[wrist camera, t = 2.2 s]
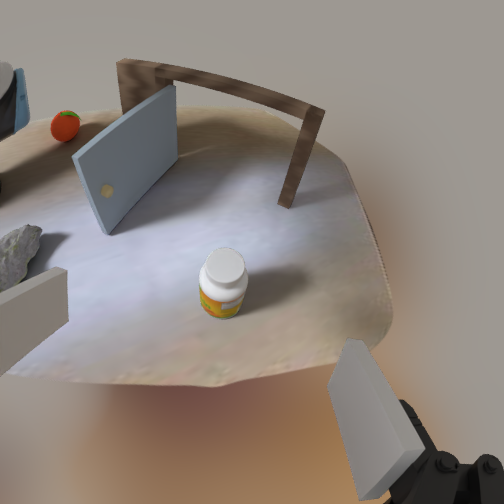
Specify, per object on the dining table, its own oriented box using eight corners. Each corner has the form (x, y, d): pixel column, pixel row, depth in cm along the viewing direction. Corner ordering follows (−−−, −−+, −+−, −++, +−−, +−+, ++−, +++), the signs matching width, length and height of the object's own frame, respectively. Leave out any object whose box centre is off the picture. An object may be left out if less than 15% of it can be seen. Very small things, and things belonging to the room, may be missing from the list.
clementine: (91, 127, 52) (85, 101, 46) (79, 146, 49) (72, 119, 43) (62, 130, 51) (55, 106, 45) (50, 149, 48) (41, 124, 42)
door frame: (127, 142, 50) (116, 62, 35) (134, 137, 52) (124, 58, 36) (288, 208, 46) (322, 116, 31) (292, 201, 48) (325, 110, 32)
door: (168, 155, 49) (165, 83, 36) (182, 160, 49) (180, 87, 36) (98, 229, 39) (67, 154, 26) (112, 237, 39) (82, 161, 26)
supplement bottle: (194, 289, 37) (190, 250, 29) (231, 276, 39) (238, 235, 31) (209, 326, 35) (210, 297, 27) (248, 311, 37) (261, 278, 28)
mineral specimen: (30, 227, 38) (14, 202, 32) (53, 244, 37) (36, 218, 32) (-18, 299, 30) (-42, 281, 24) (2, 323, 29) (-24, 306, 23)
